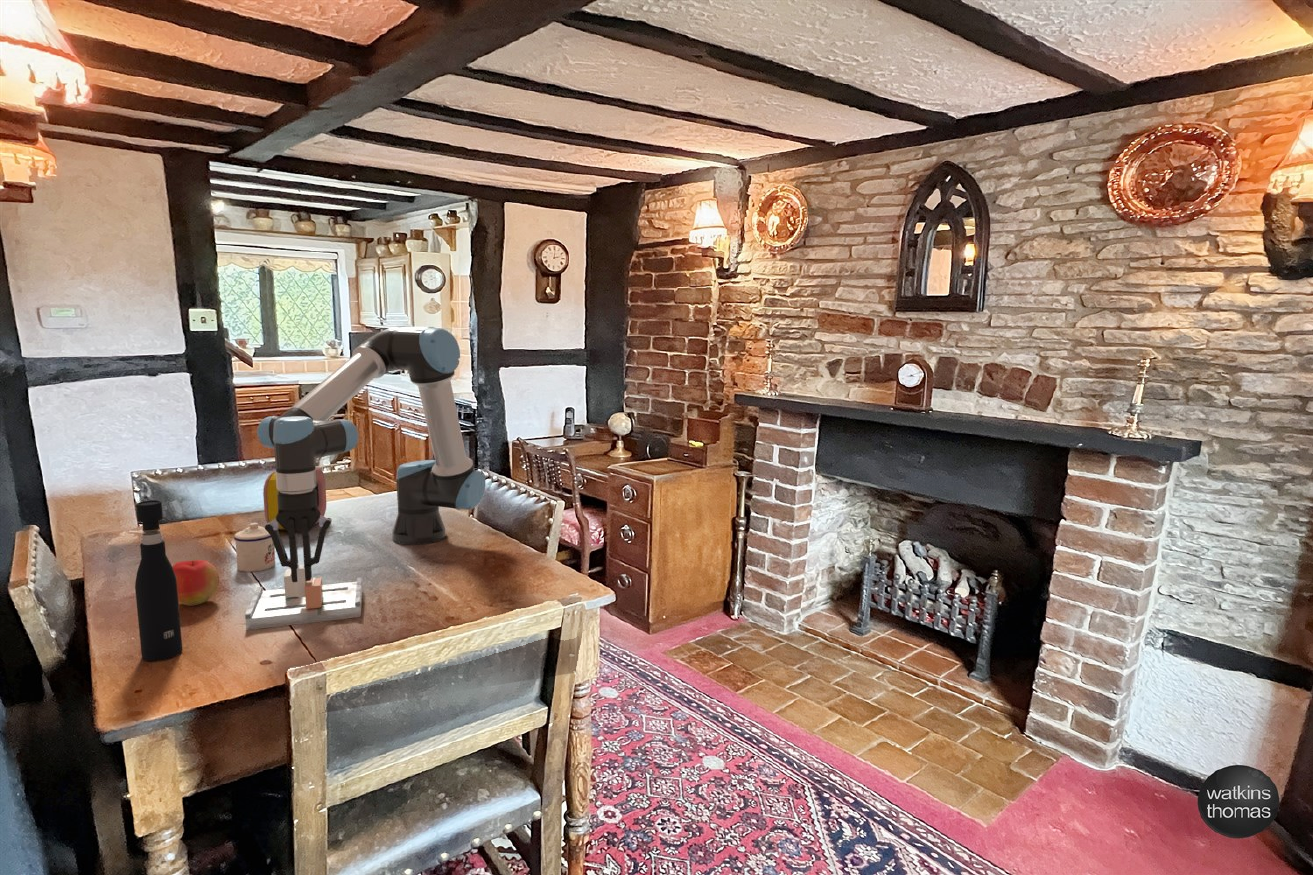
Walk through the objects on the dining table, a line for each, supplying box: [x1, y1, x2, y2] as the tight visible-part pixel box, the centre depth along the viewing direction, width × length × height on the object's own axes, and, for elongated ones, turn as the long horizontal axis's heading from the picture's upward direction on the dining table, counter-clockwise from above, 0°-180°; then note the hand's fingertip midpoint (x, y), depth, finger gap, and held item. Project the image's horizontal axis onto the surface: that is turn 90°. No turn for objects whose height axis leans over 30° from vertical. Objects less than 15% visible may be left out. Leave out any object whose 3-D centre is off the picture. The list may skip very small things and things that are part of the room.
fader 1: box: [283, 568, 298, 598], centre depth 159 cm, size 3×5×5 cm, turn 21°
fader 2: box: [305, 576, 323, 609], centre depth 153 cm, size 3×5×5 cm, turn 21°
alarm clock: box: [262, 466, 327, 530], centre depth 216 cm, size 18×11×19 cm, turn 179°
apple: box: [172, 559, 220, 607], centre depth 157 cm, size 10×10×10 cm
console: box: [244, 577, 363, 631], centre depth 157 cm, size 22×20×3 cm
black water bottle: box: [134, 499, 183, 663], centre depth 132 cm, size 6×6×30 cm
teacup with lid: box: [233, 522, 276, 573], centre depth 183 cm, size 12×9×12 cm
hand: (302, 594), depth 152 cm, fingers closed
